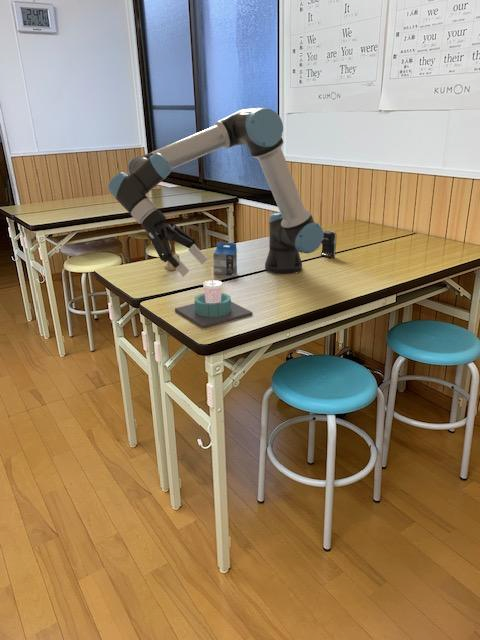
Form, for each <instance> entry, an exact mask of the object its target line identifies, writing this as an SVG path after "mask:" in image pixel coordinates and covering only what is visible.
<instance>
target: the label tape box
mask: <svg viewBox="0 0 480 640" xmlns="http://www.w3.org/2000/svg"><path fill="white" fill-rule="evenodd" d="M237 251H238V249H237V243H235V242H234V243H233V242H220V241H216V248H215V250H214V252H213V256H212V257H213V275H226V276H235V275H236V274H237V273H238V265H237V263H238V258H237V256H238V255H237V253H238V252H237ZM237 275H238V274H237Z"/></svg>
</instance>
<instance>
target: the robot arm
mask: <svg viewBox="0 0 480 640" xmlns="http://www.w3.org/2000/svg"><path fill="white" fill-rule="evenodd" d="M283 132H284V125H283V120H282V118H281V117H280V115H279V114H278V113H277V112H276V111H274V110H273V109H271V108H268V107H264V106H262V107H261V106H260V107H252V108H243V109H240V110H238V111H236V112H234V113H232V114H229V115H228V116H226V117H224V118H222V119H220V120H216V121H215V124H214V125H213V126H210V127H209V128H206V129H204V130H202V131H199V132H196V133H194V134H192V135H189V136H187V137H184V138H182V139H180V140H176V141H175V142H173V143H170V144H168V145H164V146H163V147H161V148H159V149H158V148H157V149H156V150H153V151H151V152H149V153H146V154H144V155H141V156H136V157H132V158H131V159H130V160H129V161H128V163H127V172H128V173H126V172H121V171H120V172H119V173H118V174H115V175H114V176H113V177H112V178H111V179H110V181H109V182H108V185H107V189H108V191H109V192H110V193H111V195H112V196H113V198H115V200H117V202H118V203H119V204H120V205H121V206H122V207H123V208H124V210H126V211H127V212H128V214H130V215H131V217H132V218H133V219H134V220H135V221H136V222H137V223H138V224H140V226H141V228H142V229H143V230H145V232H146V233H147V236H146V237H147V238H148V239H149V240H150V242H151V244H152V245H153V248H154V250H155V251H156V254H157V256H158V257H159V259H160V260H161V261H162V262H164V263H167V262H168V261H169V262H170V263H171V264H172V265H173V267H175V269H176V270H175V271H177V272H178V273H179V274H180V275H181V277H183V278H184V277H185V276H187V274H188V273H189V272H190V269H189V268H188V267H187V266H186V265H185V264H184V262H182V261H181V259H180V260H179V258H180V257H179V258H178V257H177V256H176V255H173V256H172V251H171V244H170V242H169V240H171V241H173V240H174V241H175V243H178V244H180V245H182V246H184V247H186V248H188V252H189V253H190V254H191V255H192V256H193V257H194V258H195V260H197V262H199V263H200V264H201V265H204V263H205V262H207V260H208V257H207V256H206V255H205V253H203V252H202V250H201V249H200V248H198V246H197V245H196V243H197V241H196V238H194V237H192V236H191V234H188V233H187V232H186V231H184V230H183V229H182V228H180V227H179V226H178V225H176V224H175V223H174V222H173V221H171V222H170V223H169V224H168V223H167V222H166V220H167V217H166V215H165V214H164V213H163V212H162V211H161V210H160V209H158V207H157V206H156V205H155V203H153V201H152V200H150V199H149V197H148V196H147V194H148V193H149V192H150V191H152V190H153V189H154V188H155V187H157V186H158V185H159V184H160V183H161V182H162V181H164V180H165V179H166V178H167V177H168V176H169V175H170V173H172V170H173V169H175V168H179V167H181V166H182V165H185V164H187V163H189V162H191V161H194V160H197V159H199V158H201V157H204V156H206V155H208V154H210V153H213V152H215V151H217V150H221V149H222V148H224V149H229V148H233V147H235V146H244V145H246V146H247V148H248V151H249V153H250V156H251V157H252V158H254V159H256V160H258V162H259V165H260V167H261V170H262V172H263V175H264V177H265V179H266V182H267V184H268V187H269V189H270V191H271V193H272V197H273V198H274V201H275V202H276V203H275V204H276V205H277V207H278V210H279V212H274V213H271V214H270V216H269V221H268V224H269V225H268V226H269V227H268V228H269V229H268V230H269V238H268V239H269V242H268V244H269V245H268V247H269V251H268V254H267V256H266V257H267V258H266V260H265V263H264V270H265V271H267V272H268V273H272V274H279V275H288V274H289V275H291V274H296V272H297V273H299V272H301V271H302V270H303V262H302V259H301V255H300V253H301V254H311V253H314V252H315V251H317V250H318V249H319V248H320V247H321V246H322V243H321V242H322V240H323V236H324V233H323V231H324V228H323V227H322V226H321V225H320V224H319V223H317V222H315V220H314V217H313V215H312V212H311V211H310V210H309V209H306V208H305V207H304V204H303V201H302V198H301V196H300V194H299V191H298V189H297V186H296V183H295V181H294V178H293V175H292V172H291V171H290V168H289V165H288V163H287V159H286V157H285V155H284V153H283V150H282V147H283V144H284V139H283Z"/></svg>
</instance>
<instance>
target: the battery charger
mask: <svg viewBox="0 0 480 640" xmlns="http://www.w3.org/2000/svg"><path fill="white" fill-rule="evenodd" d="M323 233H324V236H323V240H322V242H321V248H322V249H321V253H320V256H321V257H323V256H326V257H325V258H327V257H334V258H335V257H336V250H337V249H336V248H337V233H336V232H335V231H332V230H323Z"/></svg>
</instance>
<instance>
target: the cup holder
mask: <svg viewBox="0 0 480 640" xmlns="http://www.w3.org/2000/svg"><path fill="white" fill-rule="evenodd" d="M174 311H175V313H177V314H179V315H180V316H182V317H184V318H185V319H187V320H189V321H190V322H192V323H193V324H195V325H197V326H198V327H200V329H203V328H204V329H208V328H211V327H214V326H218V325H221V323H222V324H225V322H226V323H228V321H229V322H232V320H233V321H236V319H237V320H240V319H243V317H244V318H247V317H251V316H253V312H252V311H251V310H249V309H247V308H245V307H243V306H241V305H239V304H238V303H235V302H233V301H232V298H231V296H230V295H229V294H227V293H223V292H221V302H219V303H206V300H205V292H204V293H200V294H198V295H196V296H194V303H191V304H187V305H183V306H179V307H175V308H174ZM250 315H251V316H250Z"/></svg>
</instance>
